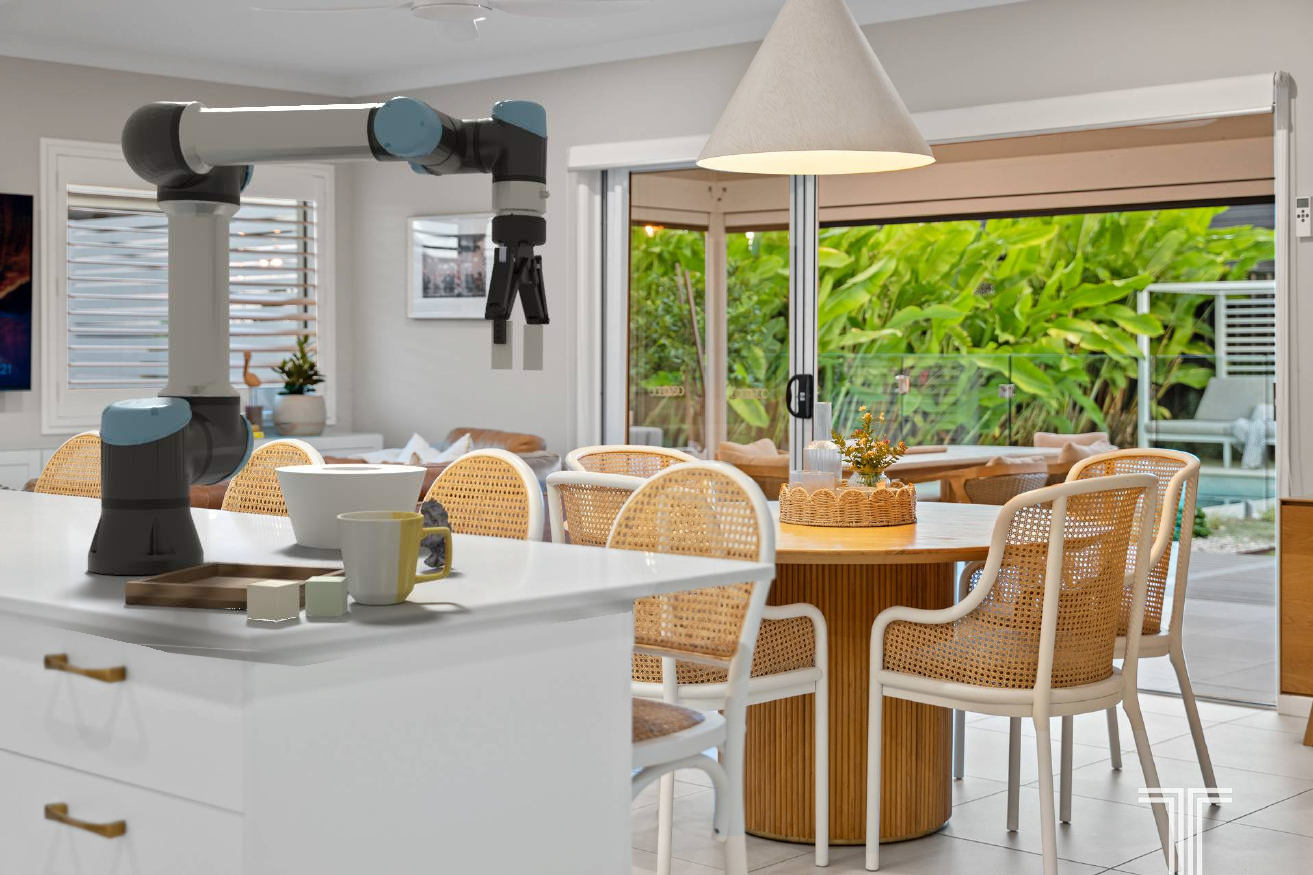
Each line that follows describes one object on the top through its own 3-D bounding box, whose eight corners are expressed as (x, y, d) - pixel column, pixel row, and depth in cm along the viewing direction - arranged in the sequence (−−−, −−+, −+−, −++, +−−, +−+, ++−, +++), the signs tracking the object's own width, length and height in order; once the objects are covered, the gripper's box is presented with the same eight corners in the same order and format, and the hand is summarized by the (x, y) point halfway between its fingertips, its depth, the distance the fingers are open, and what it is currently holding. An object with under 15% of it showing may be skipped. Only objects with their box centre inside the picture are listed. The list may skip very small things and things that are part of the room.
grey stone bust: (445, 571, 201) (445, 499, 200) (408, 569, 202) (408, 498, 202) (457, 566, 206) (458, 496, 206) (422, 564, 207) (422, 495, 207)
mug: (333, 609, 167) (333, 518, 167) (339, 595, 177) (339, 510, 177) (452, 607, 169) (453, 518, 169) (451, 594, 179) (452, 510, 179)
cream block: (247, 620, 159) (246, 584, 159) (270, 615, 163) (270, 579, 163) (276, 623, 158) (276, 586, 158) (299, 617, 161) (299, 582, 161)
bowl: (415, 552, 222) (415, 474, 221) (258, 550, 222) (258, 472, 221) (436, 535, 246) (436, 465, 245) (294, 534, 246) (294, 463, 245)
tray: (125, 603, 169) (125, 582, 169) (214, 580, 188) (214, 561, 188) (282, 612, 165) (282, 590, 164) (356, 587, 184) (357, 568, 184)
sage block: (305, 616, 162) (305, 581, 162) (312, 610, 166) (312, 576, 166) (341, 616, 162) (341, 581, 162) (347, 611, 166) (347, 576, 166)
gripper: (516, 204, 187) (515, 369, 187) (570, 225, 211) (569, 370, 212) (461, 205, 188) (460, 368, 189) (521, 225, 213) (520, 370, 213)
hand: (517, 370), depth 200 cm, fingers open, 13 cm apart
